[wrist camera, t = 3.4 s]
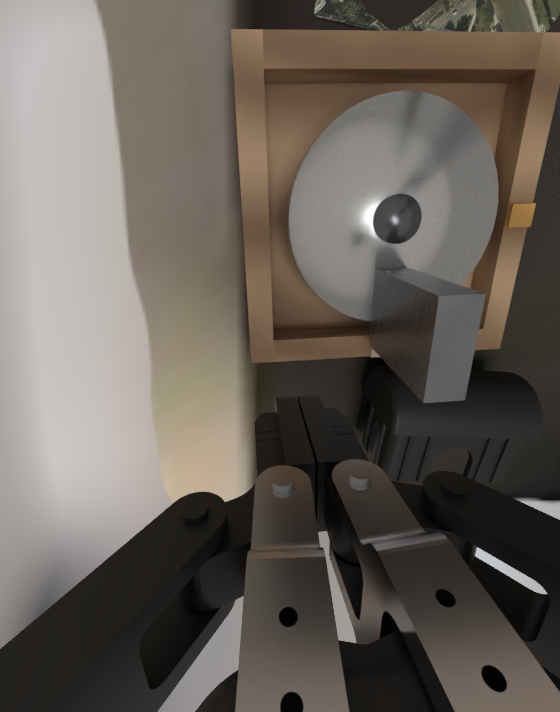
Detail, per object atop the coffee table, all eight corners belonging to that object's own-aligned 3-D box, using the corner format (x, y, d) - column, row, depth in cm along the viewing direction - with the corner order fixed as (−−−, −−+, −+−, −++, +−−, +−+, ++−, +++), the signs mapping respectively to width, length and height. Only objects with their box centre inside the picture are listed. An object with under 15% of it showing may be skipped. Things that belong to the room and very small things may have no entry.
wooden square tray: (233, 64, 19) (230, 25, 15) (512, 65, 20) (576, 29, 16) (250, 341, 25) (251, 365, 21) (464, 329, 26) (502, 350, 22)
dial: (283, 103, 18) (315, 7, 9) (493, 102, 19) (692, 12, 10) (287, 338, 23) (311, 411, 14) (454, 329, 23) (569, 393, 15)
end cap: (488, 356, 28) (559, 397, 21) (462, 432, 30) (519, 490, 24) (365, 348, 26) (403, 390, 20) (349, 428, 29) (378, 487, 23)
